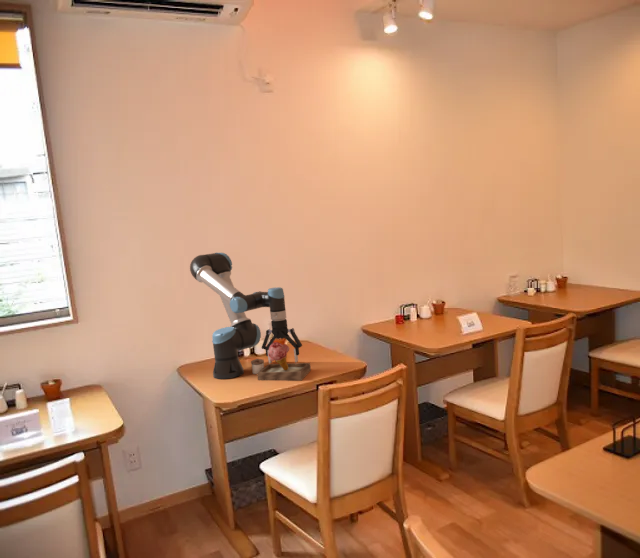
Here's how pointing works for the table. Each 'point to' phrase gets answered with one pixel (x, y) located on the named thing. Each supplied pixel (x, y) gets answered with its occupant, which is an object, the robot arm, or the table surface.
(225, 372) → the robot arm
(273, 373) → the tray
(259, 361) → the sugar pot
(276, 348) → the ice cream
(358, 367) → the table surface
